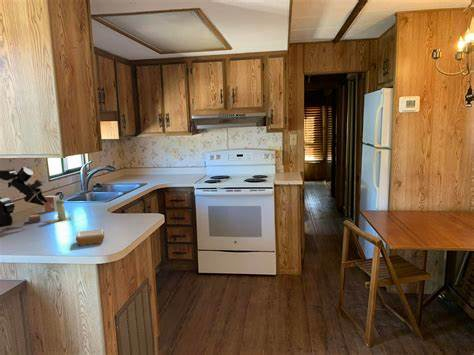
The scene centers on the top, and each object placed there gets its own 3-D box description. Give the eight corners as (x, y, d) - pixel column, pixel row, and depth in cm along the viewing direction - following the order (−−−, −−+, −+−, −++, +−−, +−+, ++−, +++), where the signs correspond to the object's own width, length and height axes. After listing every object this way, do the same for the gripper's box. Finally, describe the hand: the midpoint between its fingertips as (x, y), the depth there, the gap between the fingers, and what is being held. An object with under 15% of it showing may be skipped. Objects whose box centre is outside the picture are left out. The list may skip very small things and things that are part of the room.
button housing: (29, 224, 207) (28, 218, 207) (29, 222, 213) (29, 216, 212) (40, 222, 210) (40, 217, 210) (41, 220, 215) (40, 215, 215)
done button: (30, 220, 208) (30, 216, 208) (31, 218, 212) (30, 215, 212) (38, 219, 210) (38, 215, 210) (38, 217, 214) (38, 214, 214)
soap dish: (76, 247, 163) (75, 237, 162) (77, 241, 172) (76, 231, 172) (105, 243, 168) (104, 233, 167) (104, 237, 177) (103, 228, 176)
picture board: (42, 225, 205) (42, 224, 205) (43, 219, 219) (42, 218, 219) (77, 220, 213) (77, 219, 213) (75, 214, 228) (75, 213, 228)
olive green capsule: (58, 221, 211) (56, 201, 209) (58, 219, 214) (55, 200, 213) (66, 219, 213) (63, 200, 211) (65, 218, 216) (63, 199, 214)
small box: (44, 212, 240) (43, 196, 238) (51, 210, 245) (49, 195, 244) (54, 212, 238) (53, 197, 236) (60, 210, 243) (59, 195, 242)
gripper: (28, 178, 197) (52, 195, 202) (36, 174, 215) (57, 190, 219) (13, 193, 196) (38, 210, 201) (22, 188, 213) (45, 204, 218)
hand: (45, 203), depth 210 cm, fingers open, 9 cm apart
